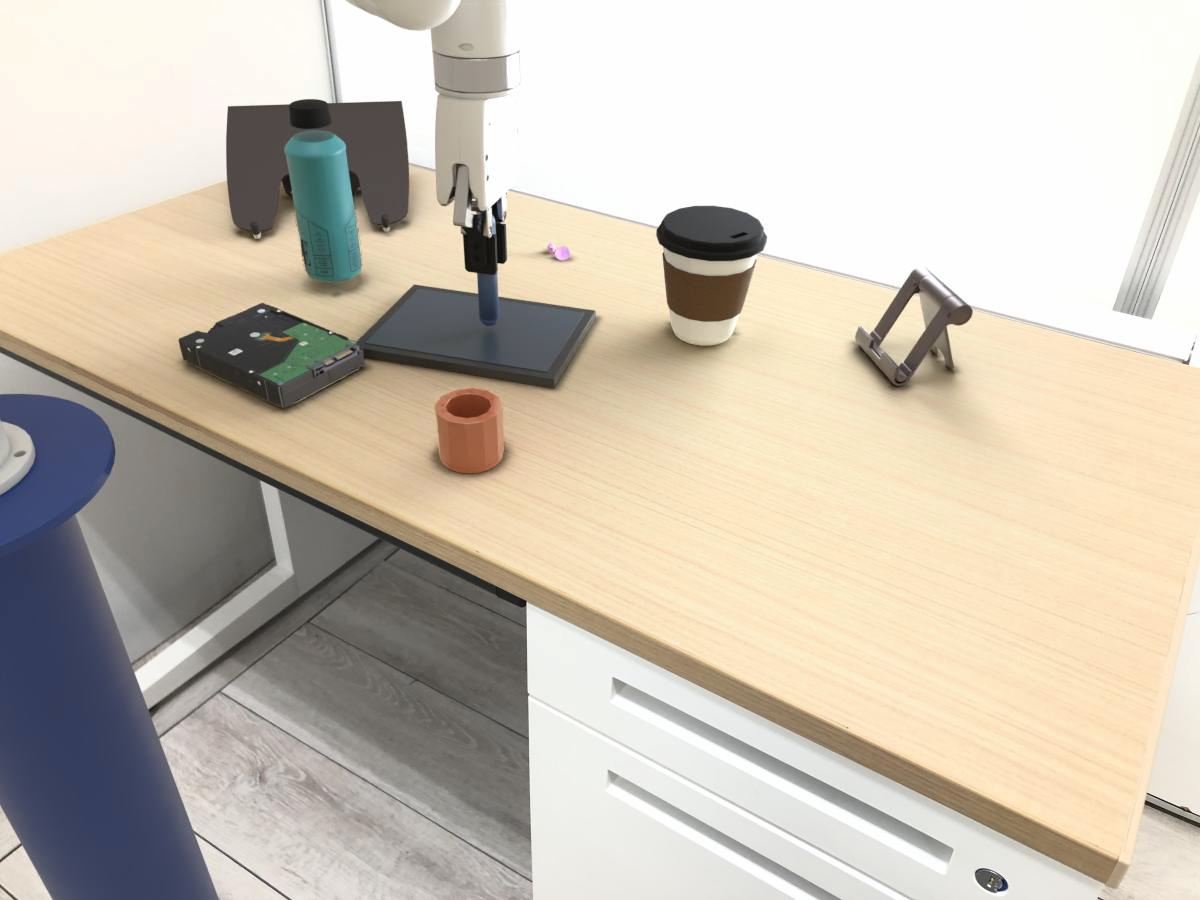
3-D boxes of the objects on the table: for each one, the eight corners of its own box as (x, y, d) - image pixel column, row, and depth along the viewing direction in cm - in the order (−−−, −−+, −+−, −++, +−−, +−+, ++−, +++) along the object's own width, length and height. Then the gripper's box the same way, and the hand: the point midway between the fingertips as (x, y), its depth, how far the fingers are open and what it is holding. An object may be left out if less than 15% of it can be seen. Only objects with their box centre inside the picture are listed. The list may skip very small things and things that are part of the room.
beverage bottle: (376, 282, 109) (355, 101, 97) (327, 301, 105) (299, 114, 93) (342, 265, 112) (317, 89, 101) (293, 283, 108) (262, 101, 97)
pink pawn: (564, 268, 117) (572, 256, 117) (564, 263, 115) (572, 251, 115) (544, 254, 117) (552, 243, 117) (543, 249, 115) (552, 238, 116)
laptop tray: (237, 276, 123) (220, 227, 115) (238, 145, 133) (223, 92, 125) (419, 265, 127) (415, 217, 119) (406, 139, 137) (401, 87, 129)
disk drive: (181, 365, 93) (285, 412, 86) (174, 339, 91) (279, 385, 85) (266, 325, 100) (368, 365, 93) (261, 300, 99) (364, 340, 92)
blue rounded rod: (495, 330, 97) (490, 217, 90) (476, 327, 97) (470, 214, 90) (502, 322, 98) (497, 209, 92) (483, 319, 99) (478, 207, 92)
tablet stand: (852, 343, 100) (867, 269, 95) (921, 338, 101) (939, 264, 96) (890, 387, 93) (908, 309, 88) (964, 380, 94) (986, 303, 89)
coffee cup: (775, 337, 100) (791, 228, 93) (700, 368, 95) (711, 255, 88) (703, 299, 107) (713, 195, 100) (629, 326, 102) (634, 218, 95)
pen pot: (490, 478, 79) (487, 428, 76) (429, 467, 80) (424, 417, 77) (512, 442, 83) (510, 394, 80) (454, 432, 84) (450, 384, 82)
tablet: (554, 388, 91) (554, 378, 90) (352, 355, 95) (351, 346, 94) (595, 318, 103) (595, 309, 102) (414, 292, 107) (413, 283, 106)
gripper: (469, 48, 91) (479, 232, 101) (399, 90, 78) (418, 295, 89) (545, 54, 89) (547, 241, 100) (485, 98, 77) (494, 306, 87)
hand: (486, 265), depth 94 cm, fingers closed on blue rounded rod, 2 cm apart
